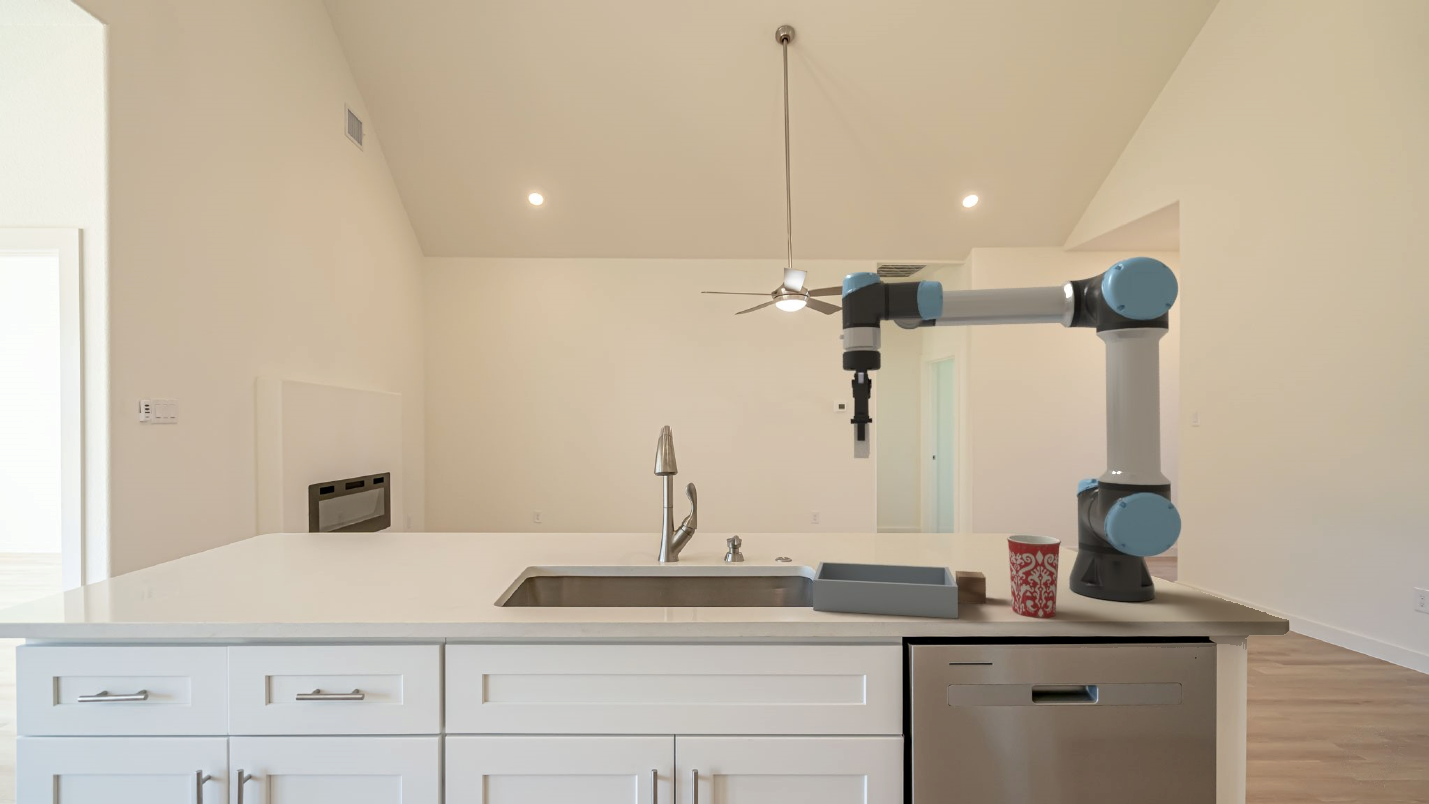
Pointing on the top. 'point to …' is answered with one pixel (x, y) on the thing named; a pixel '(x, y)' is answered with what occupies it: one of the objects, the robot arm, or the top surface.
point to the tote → (885, 589)
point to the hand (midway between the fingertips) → (862, 456)
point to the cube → (971, 587)
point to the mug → (1033, 574)
